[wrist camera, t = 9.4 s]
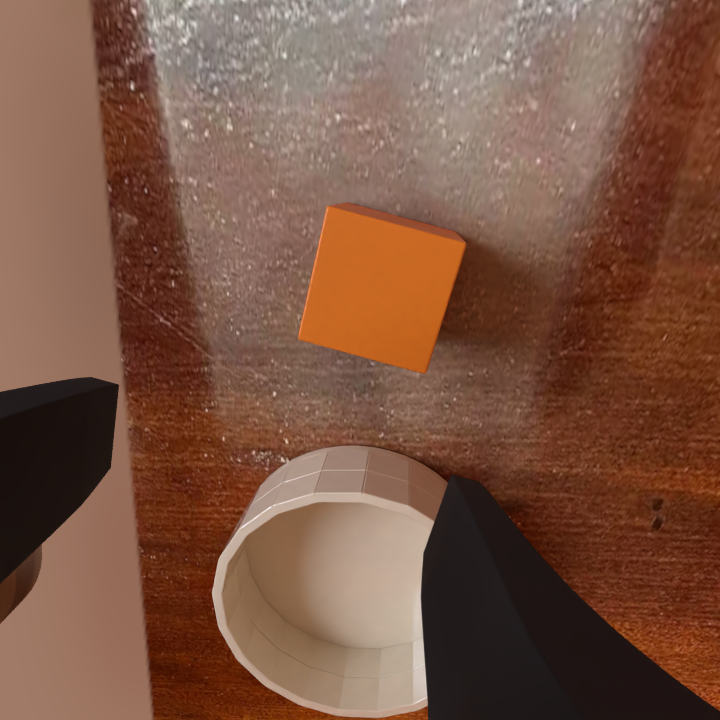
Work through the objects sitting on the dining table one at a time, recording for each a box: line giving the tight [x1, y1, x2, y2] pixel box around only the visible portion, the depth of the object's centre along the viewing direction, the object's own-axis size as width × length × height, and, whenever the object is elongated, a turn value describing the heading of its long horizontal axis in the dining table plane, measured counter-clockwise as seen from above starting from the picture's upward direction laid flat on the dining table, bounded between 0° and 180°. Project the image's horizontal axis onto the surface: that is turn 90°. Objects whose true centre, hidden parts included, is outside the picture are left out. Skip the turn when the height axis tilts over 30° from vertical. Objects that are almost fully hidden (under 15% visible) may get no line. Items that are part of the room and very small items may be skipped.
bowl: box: [212, 445, 448, 718], centre depth 21 cm, size 10×10×4 cm
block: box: [298, 203, 467, 374], centre depth 17 cm, size 4×4×4 cm
